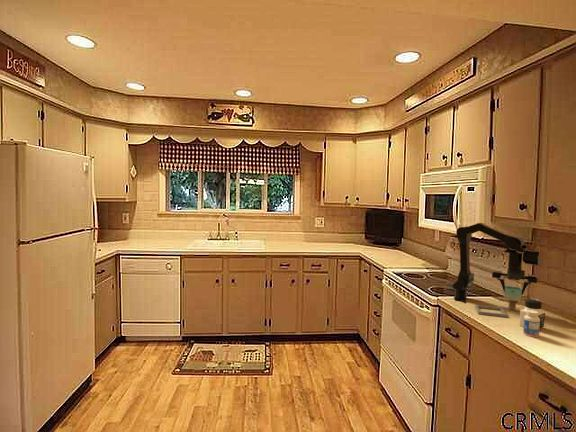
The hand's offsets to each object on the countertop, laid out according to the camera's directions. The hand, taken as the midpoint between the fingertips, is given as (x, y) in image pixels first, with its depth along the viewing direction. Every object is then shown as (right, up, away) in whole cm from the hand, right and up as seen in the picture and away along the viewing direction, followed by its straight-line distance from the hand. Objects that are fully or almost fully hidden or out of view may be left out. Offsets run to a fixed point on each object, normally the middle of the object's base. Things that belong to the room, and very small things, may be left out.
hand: (513, 293), depth 184 cm
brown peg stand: (0, -9, +1) cm, 9 cm away
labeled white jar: (-5, -10, -21) cm, 24 cm away
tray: (-14, -9, -4) cm, 17 cm away
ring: (0, -1, 0) cm, 1 cm away
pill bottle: (-11, -11, -31) cm, 34 cm away
